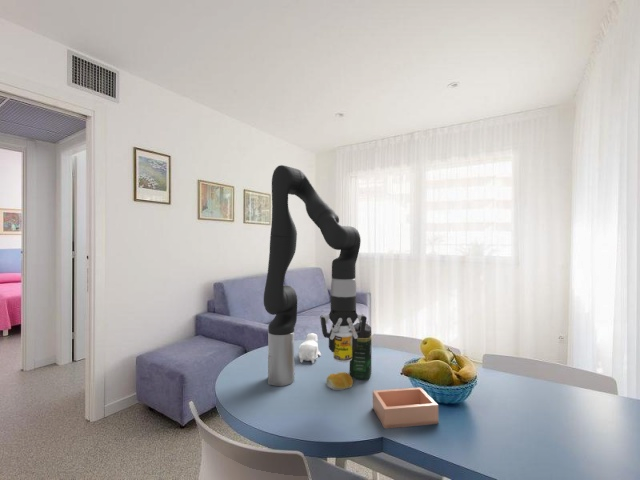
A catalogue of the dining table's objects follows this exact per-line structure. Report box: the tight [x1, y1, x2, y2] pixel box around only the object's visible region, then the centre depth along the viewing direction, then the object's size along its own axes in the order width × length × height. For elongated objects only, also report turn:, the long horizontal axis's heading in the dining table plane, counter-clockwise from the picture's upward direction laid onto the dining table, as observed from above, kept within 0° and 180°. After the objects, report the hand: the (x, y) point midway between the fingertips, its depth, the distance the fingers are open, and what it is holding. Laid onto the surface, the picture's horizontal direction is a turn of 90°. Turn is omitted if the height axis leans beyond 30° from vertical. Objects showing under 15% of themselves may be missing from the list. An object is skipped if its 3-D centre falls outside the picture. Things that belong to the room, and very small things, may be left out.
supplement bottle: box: [332, 326, 352, 363], centre depth 88 cm, size 6×6×10 cm
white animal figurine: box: [298, 332, 322, 364], centre depth 129 cm, size 9×8×15 cm
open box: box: [372, 387, 439, 429], centre depth 84 cm, size 15×10×5 cm, turn 98°
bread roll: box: [326, 371, 354, 391], centre depth 103 cm, size 8×9×4 cm
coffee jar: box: [349, 322, 373, 381], centre depth 111 cm, size 10×8×19 cm
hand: (342, 350), depth 88 cm, fingers closed on supplement bottle, 5 cm apart
